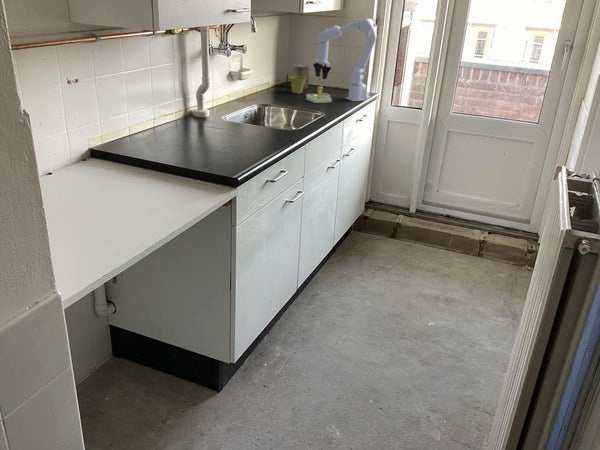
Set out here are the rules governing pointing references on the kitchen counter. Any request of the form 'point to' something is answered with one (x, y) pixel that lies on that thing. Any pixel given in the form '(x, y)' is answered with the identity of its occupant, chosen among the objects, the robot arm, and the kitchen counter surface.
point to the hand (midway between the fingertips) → (321, 77)
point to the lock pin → (319, 92)
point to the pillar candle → (302, 73)
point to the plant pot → (297, 84)
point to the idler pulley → (311, 94)
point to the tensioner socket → (326, 95)
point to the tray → (314, 99)
